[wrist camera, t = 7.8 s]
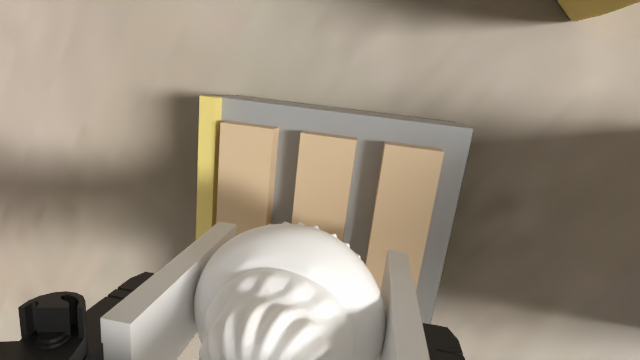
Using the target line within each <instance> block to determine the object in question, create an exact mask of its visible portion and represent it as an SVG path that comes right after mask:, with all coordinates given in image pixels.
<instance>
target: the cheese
mask: <svg viewBox="0 0 640 360" xmlns="http://www.w3.org/2000/svg"><path fill="white" fill-rule="evenodd" d="M557 1H558V3H559V4H560V6H561V7H562V8H563V10H564V11H565V13H566V14H567V15H568V17H569V18H570V19H571V20H572V21H578V20H582V19H586V18H591V17H595V16H600V15H603V14H606V13H609V12H612V11H615V10H618V9H621V8H623V7H626V6H629V5H632V4H634V3H637V2H640V0H557Z"/></svg>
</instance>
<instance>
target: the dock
mask: <svg viewBox="0 0 640 360" xmlns="http://www.w3.org/2000/svg"><path fill="white" fill-rule="evenodd" d="M473 130H474V129H472V128H469V127H467V126H464V125H461V124H458V123H455V122H451V121H442V120H434V119H426V118H418V117H410V116H402V115H393V114H385V113H377V112H369V111H361V110H353V109H345V108H336V107H328V106H320V105H312V104H304V103H296V102H287V101H279V100H271V99H263V98H255V97H247V96H239V95H227V96H200V98H199V135H198V172H197V210H196V240H197V239H198V238H199V237H200V236H202V235H203V234H204V233H205V232H207V231H208V230H209V229H210V228H212V227H213V226H214V225H215V224H216V223H218V222H225V223H231V224H237V227H236V236H237V235H239V234H241V233H243V232H245V231H248V230H251V229H253V228H257V227H261V226H265V225H268V224H282V223H283V222H288V223H290V224H298V223H299V222H302V223H303V224H305V225H306V226H310V227H313V226H315V225H317V226H318V227H319V229H320V230H322V231H325V232H327V233H329V234H336V236H337V238H338V239H339V240H341V241H342V242H345V243H349V245H350V249H351V250H352V251H354V253H356V254H358V255H360V259H361V260H362V261H363V262H364V264H365V265H366V266H367V268H368V269H369V271H370V272H371V274H372V276H373V277H374V279H375V281H376V283H377V286H378V288H379V291H381V285H382V279H383V274H384V268H385V262H386V256H387V251H388V250H394V251H400V252H406V253H408V258H409V263H410V267H411V272H412V277H413V282H414V286H415V291H416V296H417V301H418V305H419V310H420V315H421V320H422V323H427V324H431V320H432V315H433V311H434V306H435V302H436V297H437V293H438V288H439V284H440V279H441V275H442V270H443V266H444V261H445V256H446V252H447V247H448V243H449V238H450V234H451V229H452V225H453V220H454V216H455V211H456V207H457V202H458V198H459V193H460V189H461V184H462V180H463V175H464V171H465V166H466V162H467V157H468V152H469V148H470V143H471V139H472V134H473Z"/></svg>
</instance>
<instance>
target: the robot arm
mask: <svg viewBox="0 0 640 360" xmlns="http://www.w3.org/2000/svg"><path fill="white" fill-rule="evenodd" d="M236 227H237V224H231V223H225V222H218V223H216V224H215V225H214V226H213V227H212V228H210V229H209V230H208V231H207V232H205V233H204V234H203V235H202V236H200V237H199V238H198V239H197V240H196V241H194V242H193V243H192V244H191V245H189V246H188V247H187V248H186V249H184V250H183V251H182V252H181V253H180V254H178V255H177V256H176V257H175V258H173V259H172V260H171V261H170V262H168V263H167V264H166V265H165V266H164V267H162V268H161V269H160V270H159V271H157V272H156V273H149V272H144V273H142V274H140V275H137V276H135V277H132V278H130V279H129V280H127V281H126V282H125V283H123V284H122V285H121V286H119V287H118V289H115V290H114V291H113V292H111V293H110V294H109V295H108V297H105V298H103V299H102V300H101V301H99V302H98V303H97V304H95V305H94V306H93V307H91V308H90V309H89V310H87V311H86V305H85V300H84V297H83V296H82V295H80V294H78V293H74V292H54V293H50V294H46V295H42V296H39V297H36V298H34V299H31V300H29V301H27V302H26V303H24V304H23V305H21V306H20V307H18V309H19V318H20V327H21V336H22V339H21V340H20V341H10V342H0V360H177V358H178V357H179V356H180V354H181V353H182V352H183V350H184V349H185V348H186V346H187V345H188V344H189V342H190V341H191V340H192V338H193V337H194V336H195V334H196V333H197V332H198V331H197V326H196V322H195V314H194V297H195V291H196V287H197V284H198V281H199V278H200V276H201V274H202V272H203V270H204V268H205V266H206V264H207V263H208V261H209V260H210V258H211V257H212V256H213V255H214V253H215V252H216V251H217V250H218V249H219V248H220V247H221V246H222V245H224V244H225V243H226V242H227V241H229V240H230V239H232V238H233V237H235V236H236ZM380 293H381V296H382V299H383V303H384V308H385V315H386V330H385V337H384V342H383V346H382V350H381V352H380V355H379V358H378V360H465V358H464V356H463V353H462V350H461V347H460V344H459V341H458V339H457V338H456V337H455V336H454V335H453V333H452V332H451V331H450V330H449V329H448V328H447V327H442V326H437V325H432V324H427V323H422V320H421V315H420V310H419V305H418V301H417V296H416V291H415V286H414V282H413V277H412V272H411V267H410V263H409V258H408V253H406V252H400V251H394V250H388V251H387V256H386V262H385V268H384V274H383V279H382V285H381V291H380Z"/></svg>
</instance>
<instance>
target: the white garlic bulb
mask: <svg viewBox="0 0 640 360" xmlns="http://www.w3.org/2000/svg"><path fill="white" fill-rule="evenodd" d="M194 314H195V322H196V326H197V331H198V334H199V338H200V341H201V344H202V345H201V348H200V352H199V360H378V358H379V355H380V352H381V350H382V346H383V342H384V337H385V330H386V315H385V308H384V303H383V299H382V296H381V293H380V291H379V288H378V286H377V283H376V281H375V279H374V277H373V276H372V274H371V272H370V271H369V269H368V268H367V266H366V265H365V264H364V262H363V261H362V260H361V259H360V255H358V254H356V253H354V251H352V250H351V249H350V245H349V243H345V242H342V241H341V240H339V239H338V238H337V236H336V234H329V233H327V232H325V231H322V230H320V229H319V227H318V226H317V225H315V226H313V227H310V226H306V225H305V224H303V223H302V222H299V223H298V224H290V223H288V222H283V223H282V224H268V225H265V226H261V227H257V228H253V229H251V230H248V231H245V232H243V233H241V234H239V235H237V236H235V237H233V238H232V239H230V240H229V241H227V242H226V243H225V244H224V245H222V246H221V247H220V248H219V249H218V250H217V251H216V252H215V253H214V255H213V256H212V257H211V258H210V260H209V261H208V263H207V264H206V266H205V268H204V270H203V272H202V274H201V276H200V278H199V281H198V284H197V287H196V291H195V297H194Z"/></svg>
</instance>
